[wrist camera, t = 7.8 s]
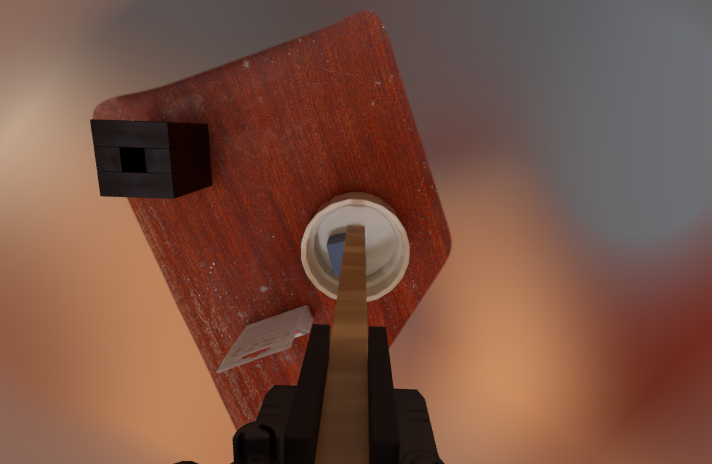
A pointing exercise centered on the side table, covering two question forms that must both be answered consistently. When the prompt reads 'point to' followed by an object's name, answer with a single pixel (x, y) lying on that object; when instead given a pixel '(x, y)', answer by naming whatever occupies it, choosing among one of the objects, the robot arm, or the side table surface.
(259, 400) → the side table surface
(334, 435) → the stick
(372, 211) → the bowl
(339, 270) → the block
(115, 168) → the stand
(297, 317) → the ink box
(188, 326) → the side table surface
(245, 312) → the side table surface
